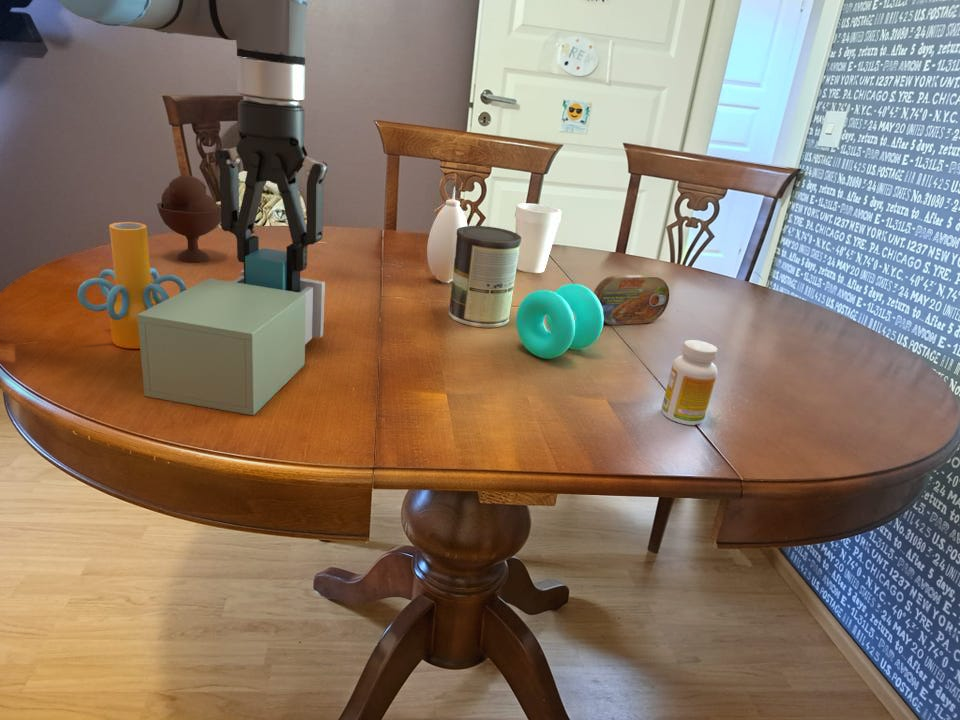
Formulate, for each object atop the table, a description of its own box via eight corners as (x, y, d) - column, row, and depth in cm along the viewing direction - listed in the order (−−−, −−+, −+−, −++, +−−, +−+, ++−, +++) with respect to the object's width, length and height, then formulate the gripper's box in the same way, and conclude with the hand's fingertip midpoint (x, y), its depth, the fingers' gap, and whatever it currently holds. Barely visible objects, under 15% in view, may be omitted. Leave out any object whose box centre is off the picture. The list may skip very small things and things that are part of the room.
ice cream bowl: (236, 262, 121) (234, 179, 116) (175, 269, 114) (169, 180, 108) (209, 248, 128) (205, 168, 122) (149, 253, 120) (143, 169, 114)
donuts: (600, 356, 100) (613, 293, 96) (559, 370, 93) (572, 303, 89) (549, 334, 106) (559, 274, 102) (507, 346, 99) (517, 282, 95)
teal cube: (245, 294, 85) (244, 256, 83) (262, 283, 89) (262, 247, 87) (282, 300, 84) (283, 262, 82) (298, 289, 89) (298, 253, 87)
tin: (595, 326, 113) (604, 278, 109) (585, 319, 115) (594, 273, 112) (664, 323, 119) (675, 277, 116) (653, 316, 122) (664, 272, 118)
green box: (211, 348, 86) (208, 277, 82) (304, 364, 85) (306, 293, 81) (144, 396, 73) (136, 314, 69) (253, 415, 72) (252, 333, 68)
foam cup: (514, 273, 137) (523, 211, 132) (502, 261, 145) (511, 201, 140) (557, 276, 140) (567, 214, 134) (543, 263, 148) (552, 205, 143)
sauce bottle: (468, 279, 129) (479, 185, 122) (460, 290, 122) (471, 191, 115) (430, 272, 130) (438, 179, 123) (419, 283, 123) (428, 185, 116)
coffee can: (435, 316, 108) (444, 230, 102) (468, 302, 116) (477, 222, 111) (490, 333, 104) (502, 244, 98) (520, 317, 112) (532, 235, 106)
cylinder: (87, 362, 78) (71, 238, 73) (80, 330, 86) (66, 216, 80) (197, 351, 85) (190, 236, 79) (181, 322, 93) (175, 216, 87)
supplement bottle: (712, 421, 84) (732, 351, 80) (685, 429, 81) (705, 357, 77) (678, 402, 88) (696, 335, 84) (652, 410, 85) (669, 340, 81)
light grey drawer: (264, 308, 99) (264, 258, 96) (338, 320, 98) (340, 270, 95) (194, 357, 81) (191, 297, 78) (284, 373, 80) (284, 312, 77)
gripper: (355, 110, 80) (348, 292, 89) (214, 91, 82) (221, 272, 91) (335, 112, 73) (328, 309, 83) (181, 91, 75) (192, 287, 84)
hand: (272, 289), depth 87 cm, fingers closed on teal cube, 5 cm apart
